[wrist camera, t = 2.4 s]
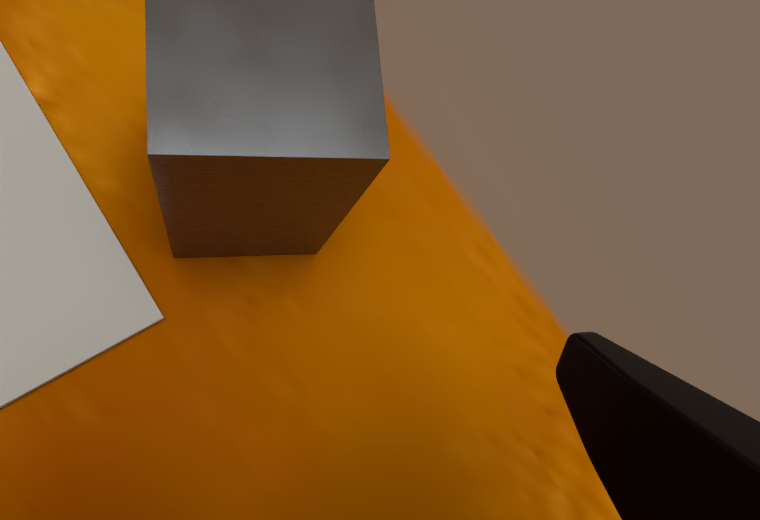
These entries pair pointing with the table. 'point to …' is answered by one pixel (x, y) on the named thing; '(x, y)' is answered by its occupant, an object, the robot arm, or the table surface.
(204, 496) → the table surface
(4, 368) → the mat
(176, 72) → the tin
